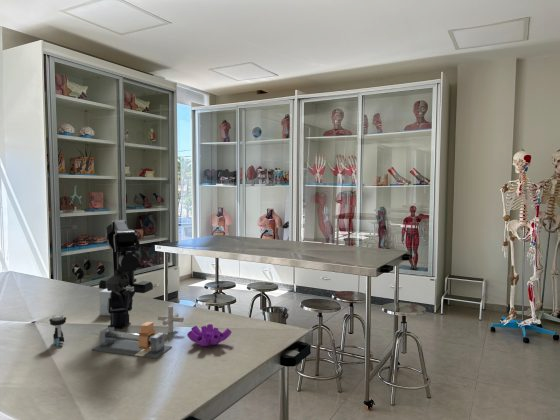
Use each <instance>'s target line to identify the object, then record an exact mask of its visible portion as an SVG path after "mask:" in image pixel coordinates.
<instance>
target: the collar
mask: <svg viewBox="0 0 560 420" xmlns="http://www.w3.org/2000/svg"><path fill="white" fill-rule="evenodd" d="M138 334H139V341H138V342H139V349H148V348H150V347H151V343H148V336H149V335H153V336H154V335H156V328H154V322H153V321H145V322H144V323H142V324H141V325H140V332H139V333H138Z"/></svg>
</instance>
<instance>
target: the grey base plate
mask: <svg viewBox="0 0 560 420" xmlns="http://www.w3.org/2000/svg"><path fill="white" fill-rule="evenodd" d="M114 341H115V342H114V343H112V344H110V345H109V346H107V347H100V344H98V345H96V346H95V347H94V346H93V348H91V351H96V352H103V353H111V354H118V355H127V356H133V357H141V358H148V359H155V360H156V359H158V358H159V357H161V356H162V355H164V354H165V353H167V352H168V351H169V350H171V349H172V348H173V346H171V345H165V344H164V349H163V350H162V351H160V352H159V353H157V354H152V353H151V347H150V348H148V349H139V341H131V340H123V339H115V338H114Z"/></svg>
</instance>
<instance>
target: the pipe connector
mask: <svg viewBox="0 0 560 420" xmlns="http://www.w3.org/2000/svg"><path fill="white" fill-rule="evenodd" d="M167 307H168V309H167V310H168V313H167V315H157V321H162V325H163V326H167V325H168V327H167V329H168V330H167V331H168V333H173V332H174V322H175V323H176V322H177V323H183V322H184V320H185V318H184V317H183V316H179V313H178V312H176V313H174V306H173V305H168V306H167Z"/></svg>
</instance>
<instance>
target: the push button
mask: <svg viewBox="0 0 560 420" xmlns="http://www.w3.org/2000/svg"><path fill="white" fill-rule="evenodd" d="M48 321H49V323H50V325H51V326H53V327H54V333H53V335H52V336H53V337H52V338H53V339H52V340H53V343H52V344H53V346H55V345H56V346H57V347H60V346H61V347H62V346H64V342H65V337H64V333H63V331H62V326H63V325H64V324H66V321H67V317H65V316H64V315H63V314H55V315H53V316H52V317H51V318H50V319H49V320H48Z"/></svg>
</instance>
